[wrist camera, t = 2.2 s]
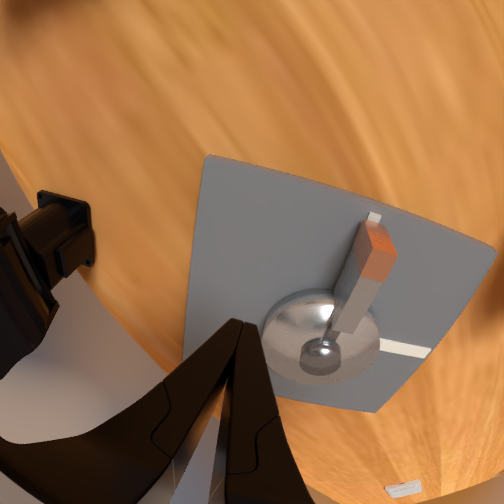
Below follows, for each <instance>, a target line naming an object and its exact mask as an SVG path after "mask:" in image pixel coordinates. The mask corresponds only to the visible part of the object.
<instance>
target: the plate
mask: <svg viewBox="0 0 504 504" xmlns="http://www.w3.org/2000/svg"><path fill="white" fill-rule="evenodd" d="M363 219H366V220H369V221H373V222H376V223H379V224H382V225H385V227H386V229H387V231H388V234H389V236H390V238H391V240H392V243H393V245H394V247H395V250H396V252H397V255H398V257H397V259H396V261H395V263H394V265H393V267H392V269H391V271H390V273H389V275H388V277H387V278H386V280H385V282H384V283H382V284H381V286H380V288H379V290H378V292H377V294H376V295H375V297H374V299H373V301H372V303H371V304H370V307H371V308H372V310H373V312H374V314H375V317H376V320H377V326H378V331H379V337H380V350H379V353H378V356H377V358H376V359H375V361H374V362H373V364H372V365H371V366H370V367H369V368H368V369H367V370H366V371H364V372H363V373H361V374H360V375H358V376H356V377H354V378H352V379H350V380H347V381H344V382H340V383H336V384H330V385H309V384H303V383H299V382H295V381H292V380H289V379H287V378H285V377H283V376H281V375H279V374H278V373H277V372H275V371H274V370H273V369H272V368H271V367H270V366H269V365H268V364H267V367H268V371H269V375H270V379H271V383H272V387H273V391H274V395H275V396H279V397H283V398H288V399H292V400H297V401H302V402H307V403H312V404H318V405H323V406H329V407H335V408H342V409H348V410H355V411H363V412H371V413H376V412H377V411H378V410H379V409H380V408H381V407H382V406H383V405H384V404H385V403H386V402H387V401H388V400H389V399H390V398H391V397H392V396H393V395H394V394H395V393H396V392H397V391H398V390H399V389H400V387H401V386H402V385H403V384H404V383H405V382H406V381H407V380H408V379H409V378H410V377H411V376H412V374H413V373H414V372H415V371H416V370H417V369H418V368H419V366H420V365H421V364H422V363H423V362H424V361H425V359H426V358H427V357H428V356H429V355H430V353H431V352H432V351H433V350H434V349H435V347H436V346H437V345H438V344H439V342H440V341H441V340H442V338H443V337H444V336H445V335H446V333H447V332H448V331H449V329H450V328H451V327H452V325H453V324H454V322H455V321H456V320H457V318H458V317H459V315H460V314H461V313H462V311H463V310H464V308H465V307H466V305H467V304H468V302H469V301H470V299H471V298H472V296H473V295H474V293H475V292H476V290H477V289H478V287H479V286H480V284H481V282H482V281H483V279H484V277H485V276H486V274H487V272H488V271H489V269H490V267H491V266H492V264H493V262H494V260H495V259H496V257H497V255H498V253H497V251H496V250H495V249H494V248H493V247H492V246H490V245H488V244H485V243H483V242H481V241H479V240H476V239H474V238H472V237H469V236H467V235H465V234H462V233H460V232H458V231H455V230H453V229H450V228H448V227H446V226H443V225H441V224H438V223H436V222H433V221H431V220H428V219H425V218H423V217H420V216H418V215H415V214H412V213H410V212H407V211H404V210H401V209H399V208H396V207H393V206H390V205H387V204H385V203H382V202H379V201H376V200H373V199H370V198H367V197H364V196H361V195H358V194H355V193H352V192H349V191H346V190H342V189H339V188H336V187H333V186H330V185H326V184H323V183H320V182H316V181H313V180H309V179H306V178H302V177H299V176H295V175H292V174H288V173H284V172H281V171H277V170H273V169H269V168H265V167H261V166H258V165H254V164H249V163H245V162H241V161H237V160H233V159H228V158H224V157H220V156H215V155H211V154H210V155H208V156H207V157H206V158H205V161H204V167H203V174H202V181H201V187H200V194H199V201H198V209H197V216H196V224H195V232H194V240H193V249H192V258H191V267H190V276H189V286H188V297H187V308H186V320H185V333H184V347H183V361H184V360H185V359H187V358H188V357H189V356H190V355H191V354H192V353H193V352H194V351H195V350H196V349H198V348H199V347H200V346H201V345H202V344H203V343H204V342H205V341H206V340H207V339H208V338H210V337H211V336H212V335H213V334H214V333H215V332H216V331H217V330H218V329H219V328H220V327H221V326H222V325H224V324H225V323H226V322H227V321H228V320H229V319H230V318H235V319H239V320H242V321H243V322H250V323H253V324H256V325H257V327H258V330H259V334H260V338H261V340H262V336H263V331H264V327H265V322H266V319H267V316H268V314H269V312H270V311H271V309H272V308H273V307H274V306H275V305H276V304H277V303H278V302H279V301H281V300H282V299H284V298H285V297H287V296H289V295H291V294H293V293H295V292H298V291H301V290H306V289H311V288H335V285H336V283H337V281H338V279H339V277H340V274H341V272H342V270H343V268H344V265H345V263H346V261H347V259H348V256H349V254H350V252H351V249H352V247H353V243H354V240H355V238H356V235H357V233H358V231H359V228H360V226H361V223H362V221H363ZM227 379H228V378H227ZM226 382H227V381H226Z"/></svg>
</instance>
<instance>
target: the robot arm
mask: <svg viewBox="0 0 504 504" xmlns="http://www.w3.org/2000/svg"><path fill="white" fill-rule="evenodd" d="M37 200H38V209H36V210H34V211H33V212H31V213H30V214H29V215H27V216H26V217H24V218H23V219H21V220H20V221H17V219H16V218H17V216H16V214H15V212H12V213H10V214H7V212H5V211H4V210H3V209H2V208H1V207H0V380H1V379H3V378H4V377H5V375H6V374H7V373H8V372H9V371H10V369H11V368H12V367H13V366H14V365H15V364H16V363H17V362H18V361H20V360H21V359H22V358H23V357H25V356H26V355H28V354H30V353H31V352H33V351H34V350H35V349H36V348H37V347H38V346H39V345H40V343H41V342H42V340H43V338H44V337H45V335H46V332H47V330H48V328H49V326H50V324H51V322H52V320H53V318H54V316H55V314H56V312H57V310H58V308H59V307H60V306H59V304H58V302H57V300H55V298H54V297H53V295H52V293H51V291H50V290H51V289H53V288H54V286H56V285H57V283H58V282H59V281H60V280H61V279H62V278H63V277H64V278H67V277H68V276H69V275H70V274H71V273H72V272H73V271H74V270H75V269H76V268H77V267H78V266H79V265H81V264H83V265H85V266H88V267H91V266H92V265H93V264H94V256H93V246H92V235H91V223H90V207H89V205H88V203H87V202H85V201H82V200H78V199H74V198H70V197H67V196H63V195H59V194H55V193H52V192H48V191H44V190H41V191H39V192H38V193H37ZM83 207H84V208H83ZM227 378H228V379H227ZM226 381H227V382H226ZM225 384H226V387H225ZM224 387H225V393H224V399H223V406H222V412H221V419H220V426H219V433H218V439H217V445H216V453H215V459H214V465H213V472H212V479H211V486H210V493H209V499H208V500H209V501H208V504H315V502H314V501H313V499H312V498H311V496H310V494H309V492H308V490H307V488H306V485H305V483H304V481H303V478H302V476H301V474H300V472H299V469H298V467H297V465H296V462H295V460H294V458H293V455H292V453H291V450H290V447H289V445H288V442H287V439H286V436H285V432H284V429H283V425H282V422H281V418H280V416H279V410H278V406H277V402H276V398H275V395H274V391H273V387H272V383H271V379H270V375H269V371H268V367H267V363H266V359H265V355H264V351H263V347H262V343H261V338H260V334H259V330H258V327H257V325H256V324H253V323H250V322H243V321H242V320H239V319H235V318H230V319H229V320H228V321H227V322H226V323H225V324H224V325H222V326H221V327H220V328H219V329H218V330H217V331H216V332H215V333H214V334H213V335H212V336H211V337H210V338H208V339H207V340H206V341H205V342H204V343H203V344H202V345H201V346H200V347H199V348H198V349H196V350H195V351H194V352H193V353H192V354H191V355H190V356H189V357H188V358H187V359H185V360H184V361H183V362H182V363H181V364H180V365H179V366H178V367H177V368H176V369H174V370H173V371H172V372H171V373H170V374H169V375H168V376H167V377H166V378H164V379H163V382H160V383H159V384H157V386H155V387H154V388H153V389H152V390H150V391H149V392H148V393H147V394H146V395H144V396H143V397H142V398H141V399H139V400H138V401H136V402H135V403H134V404H132V405H131V406H129V407H128V408H126V409H125V410H123V411H122V412H120V413H118V414H117V415H115V416H114V417H112V418H111V419H109V420H107V421H106V422H104V423H103V424H101V425H99V426H98V427H96V428H94V429H93V430H91V431H88V432H86V433H84V434H81V435H78V436H74V437H69V438H63V439H57V440H51V441H44V442H37V443H30V444H15V443H11V442H8V441H6V440H5V439H3V438H2V437H0V504H169V502H170V500H171V498H172V496H173V494H174V492H175V490H176V488H177V486H178V484H179V482H180V480H181V478H182V476H183V474H184V472H185V470H186V468H187V466H188V463H189V461H190V459H191V457H192V455H193V453H194V451H195V449H196V447H197V445H198V443H199V441H200V439H201V436H202V434H203V432H204V430H205V428H206V426H207V424H208V421H209V419H210V417H211V415H212V413H213V411H214V409H215V407H216V404H217V402H218V400H219V398H220V396H221V394H222V391H223V389H224Z"/></svg>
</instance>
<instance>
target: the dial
mask: <svg viewBox="0 0 504 504" xmlns="http://www.w3.org/2000/svg"><path fill="white" fill-rule="evenodd" d="M397 257H398V255H397V252H396V250H395V247H394V245H393V243H392V240H391V238H390V236H389V234H388V231H387V229H386V227H385V225H382V224H379V223H376V222H373V221H369V220H366V219H363V221H362V223H361V226H360V228H359V231H358V233H357V235H356V238H355V240H354V243H353V247H352V249H351V252H350V254H349V256H348V259H347V261H346V263H345V265H344V268H343V270H342V272H341V274H340V277H339V279H338V281H337V283H336V285H335V288H311V289H306V290H301V291H298V292H295V293H293V294H291V295H289V296H287V297H285V298H284V299H282V300H281V301H279V302H278V303H277V304H276V305H275V306H274V307H273V308H272V309H271V311H270V312H269V314H268V316H267V319H266V322H265V327H264V331H263V336H262V340H261V343H262V347H263V351H264V355H265V359H266V363H267V364H268V365H269V366H270V367H271V368H272V369H273V370H274V371H275V372H277V373H278V374H279V375H281V376H283V377H285V378H287V379H289V380H292V381H295V382H299V383H303V384H309V385H330V384H336V383H340V382H344V381H347V380H350V379H352V378H354V377H356V376H358V375H360V374H361V373H363V372H364V371H366V370H367V369H368V368H369V367H370V366H371V365H372V364H373V362H374V361H375V359H376V358H377V356H378V353H379V350H380V337H379V331H378V326H377V320H376V317H375V314H374V312H373V310H372V308H371V307H370V304H371V303H372V301H373V299H374V297H375V295H376V294H377V292H378V290H379V288H380V286H381V284H382V283H384V282H385V280H386V278H387V277H388V275H389V273H390V271H391V269H392V267H393V265H394V263H395V261H396V259H397Z"/></svg>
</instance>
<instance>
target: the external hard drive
mask: <svg viewBox="0 0 504 504" xmlns="http://www.w3.org/2000/svg"><path fill="white" fill-rule="evenodd" d="M385 490H386V491H387V492H388V494H389V495H390V496H391V497H392V498H397V497H402V496H406V495H411V494H415V493H419V492H421V491H422V486H421V483H420V480H419V479H417V480H414V481H409V482H405V483H402V484H396V485H392V486H387V487H385Z"/></svg>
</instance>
